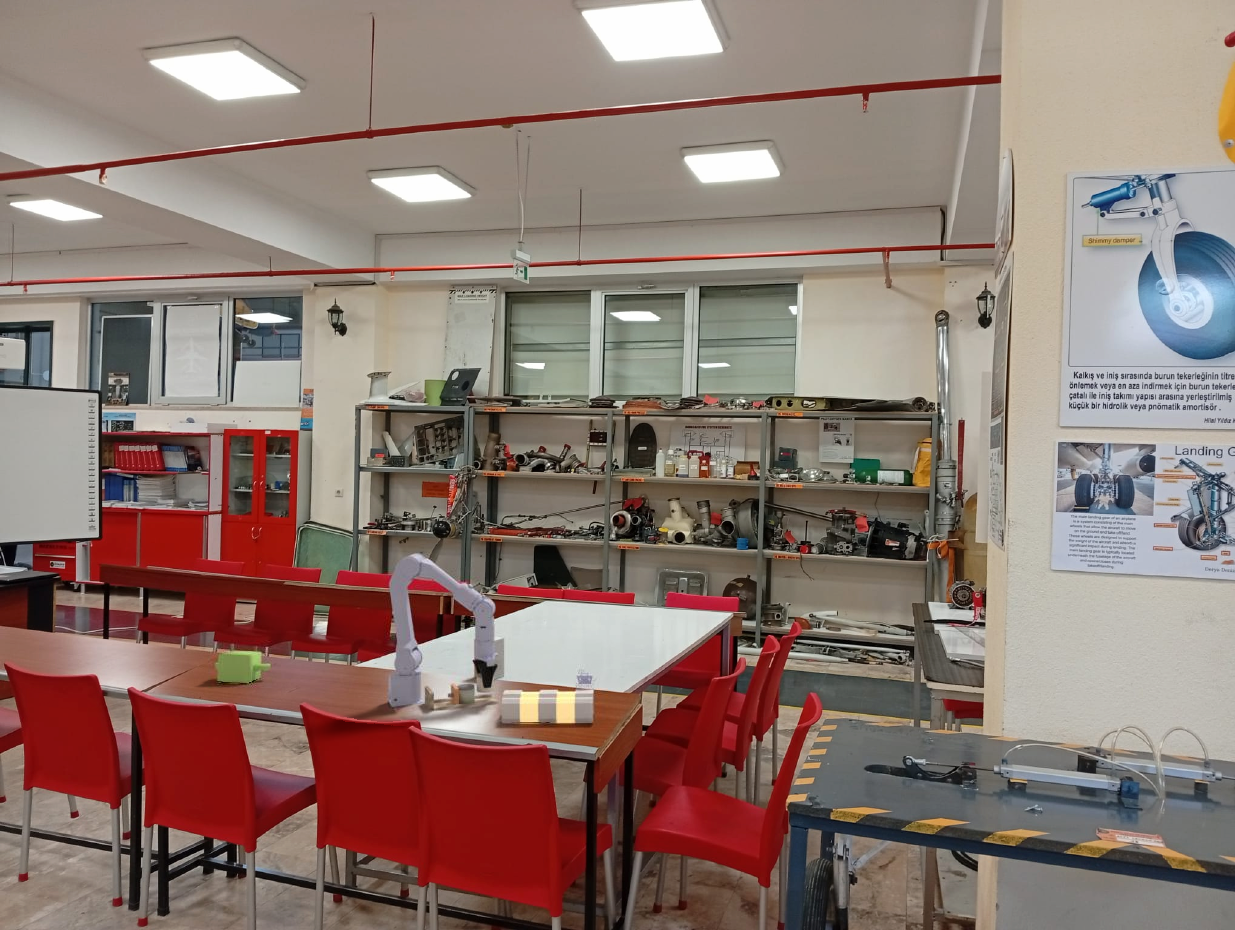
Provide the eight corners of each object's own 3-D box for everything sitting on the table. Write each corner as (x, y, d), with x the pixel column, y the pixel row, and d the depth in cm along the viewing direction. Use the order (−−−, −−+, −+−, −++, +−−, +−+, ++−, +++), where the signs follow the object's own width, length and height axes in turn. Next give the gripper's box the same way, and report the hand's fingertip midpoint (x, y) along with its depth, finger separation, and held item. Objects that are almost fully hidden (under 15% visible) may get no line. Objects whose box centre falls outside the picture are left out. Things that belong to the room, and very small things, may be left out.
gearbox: (276, 679, 294) (277, 650, 294) (261, 685, 284) (262, 655, 284) (225, 676, 296) (226, 648, 296) (208, 682, 286) (210, 653, 286)
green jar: (459, 706, 255) (459, 688, 255) (455, 701, 260) (455, 685, 260) (476, 703, 257) (476, 686, 257) (472, 699, 262) (472, 683, 262)
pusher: (450, 707, 254) (450, 689, 254) (446, 701, 260) (445, 684, 260) (459, 706, 255) (458, 688, 255) (454, 700, 261) (454, 683, 261)
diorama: (594, 714, 249) (593, 668, 249) (593, 725, 239) (593, 677, 239) (506, 714, 249) (505, 668, 249) (501, 725, 239) (501, 677, 239)
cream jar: (479, 693, 258) (478, 676, 258) (474, 689, 262) (474, 672, 262) (495, 691, 260) (495, 674, 260) (491, 687, 264) (491, 671, 264)
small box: (473, 677, 292) (473, 638, 292) (485, 673, 298) (485, 635, 298) (493, 680, 288) (493, 640, 288) (504, 676, 294) (504, 637, 294)
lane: (430, 713, 250) (430, 693, 250) (424, 704, 259) (424, 685, 259) (499, 705, 257) (499, 686, 257) (490, 697, 267) (490, 679, 267)
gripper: (504, 643, 256) (504, 689, 256) (491, 634, 269) (492, 678, 269) (480, 645, 253) (480, 692, 253) (469, 636, 267) (469, 681, 266)
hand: (485, 685), depth 261 cm, fingers closed on cream jar, 5 cm apart
